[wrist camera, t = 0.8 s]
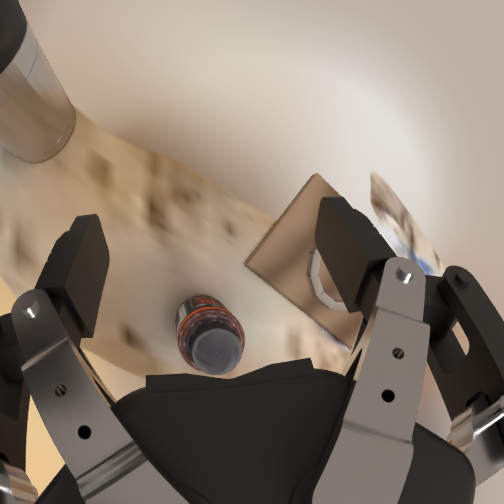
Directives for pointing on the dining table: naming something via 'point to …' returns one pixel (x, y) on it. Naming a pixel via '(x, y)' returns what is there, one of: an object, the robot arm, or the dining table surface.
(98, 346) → the dining table surface
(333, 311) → the walnut board
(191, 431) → the robot arm
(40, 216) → the dining table surface
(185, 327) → the supplement bottle
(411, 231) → the dining table surface
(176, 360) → the dining table surface
